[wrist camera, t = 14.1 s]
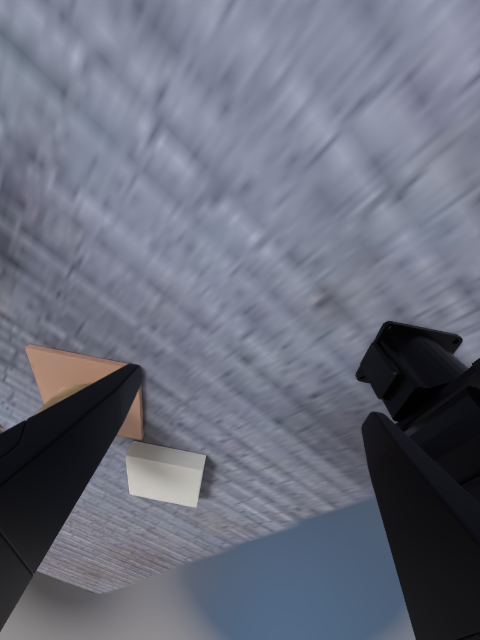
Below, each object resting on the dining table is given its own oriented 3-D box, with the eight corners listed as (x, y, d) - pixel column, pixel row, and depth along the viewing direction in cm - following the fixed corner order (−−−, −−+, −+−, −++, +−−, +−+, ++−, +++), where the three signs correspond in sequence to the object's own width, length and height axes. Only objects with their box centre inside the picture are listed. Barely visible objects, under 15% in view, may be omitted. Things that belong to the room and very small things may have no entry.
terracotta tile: (140, 366, 25) (137, 370, 25) (143, 435, 31) (141, 440, 31) (29, 344, 25) (24, 347, 25) (53, 418, 31) (50, 421, 31)
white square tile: (206, 455, 32) (202, 470, 30) (199, 492, 37) (196, 507, 35) (133, 440, 32) (125, 455, 30) (136, 479, 37) (129, 494, 35)
